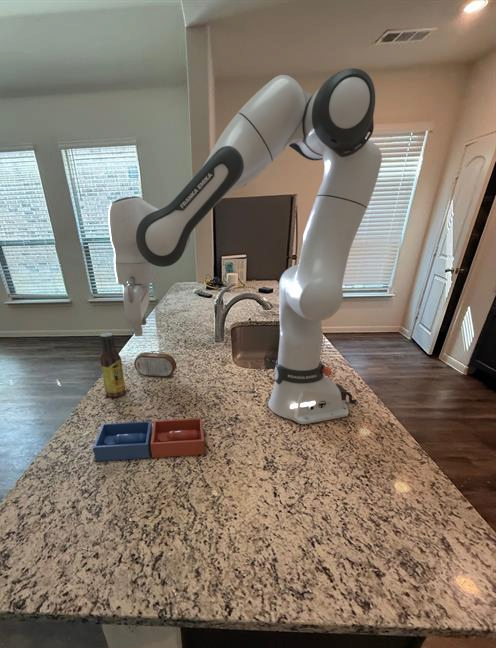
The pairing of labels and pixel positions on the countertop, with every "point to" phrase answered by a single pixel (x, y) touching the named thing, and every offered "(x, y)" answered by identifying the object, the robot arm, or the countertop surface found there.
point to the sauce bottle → (111, 367)
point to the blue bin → (123, 450)
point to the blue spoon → (125, 439)
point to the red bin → (177, 446)
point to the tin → (155, 364)
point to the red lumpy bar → (178, 436)
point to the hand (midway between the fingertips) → (141, 329)
